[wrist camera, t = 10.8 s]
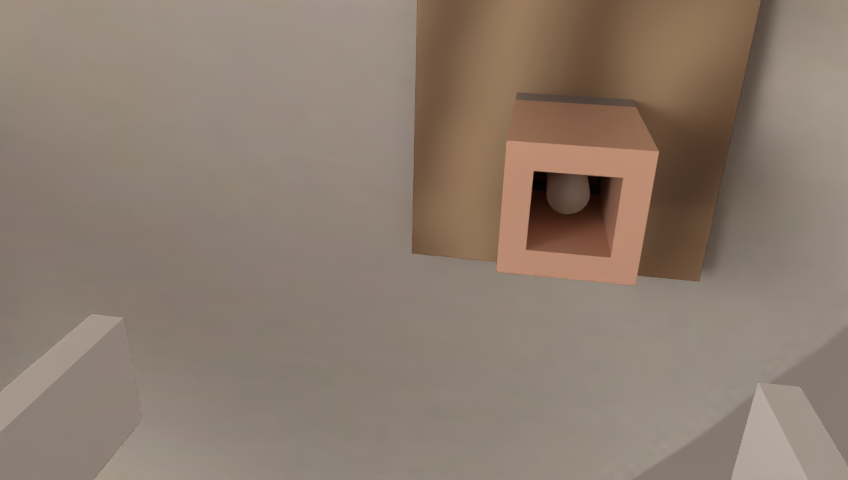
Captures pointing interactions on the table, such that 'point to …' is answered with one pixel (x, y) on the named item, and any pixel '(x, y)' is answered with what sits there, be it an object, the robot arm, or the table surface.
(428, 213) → the pin board
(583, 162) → the terracotta sleeve
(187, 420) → the table surface
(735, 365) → the table surface
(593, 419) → the table surface
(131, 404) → the robot arm
